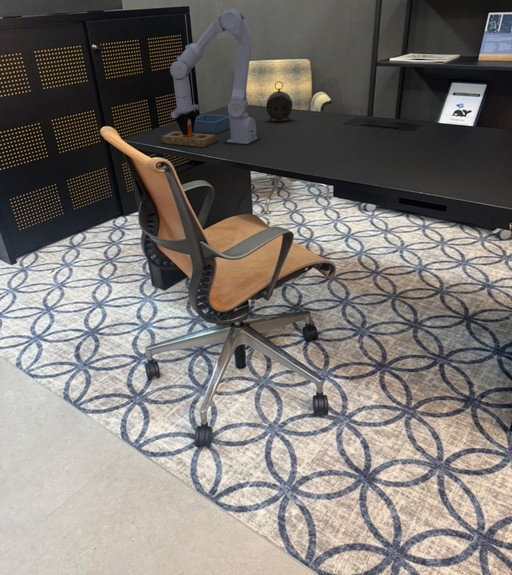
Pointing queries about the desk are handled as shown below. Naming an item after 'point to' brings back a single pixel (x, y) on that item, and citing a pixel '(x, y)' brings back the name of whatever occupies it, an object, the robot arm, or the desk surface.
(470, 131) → the desk surface
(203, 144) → the pen rack
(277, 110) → the alarm clock
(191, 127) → the pill bottle
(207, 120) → the bin
